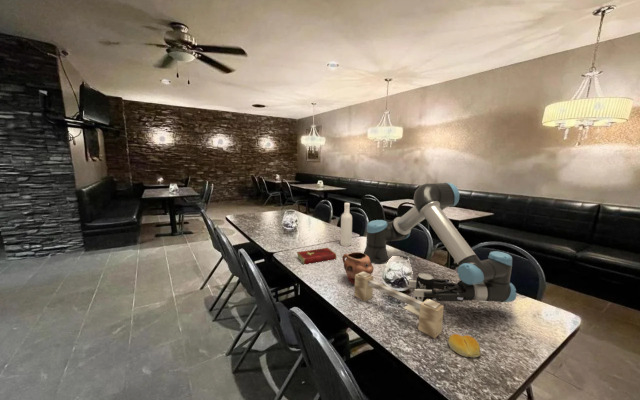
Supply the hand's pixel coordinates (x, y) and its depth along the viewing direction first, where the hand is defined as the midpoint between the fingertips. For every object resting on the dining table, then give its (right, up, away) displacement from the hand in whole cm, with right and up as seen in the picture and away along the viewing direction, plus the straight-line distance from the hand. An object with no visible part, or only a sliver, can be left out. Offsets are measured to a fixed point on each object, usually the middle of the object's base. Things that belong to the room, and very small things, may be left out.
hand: (411, 288), depth 103 cm
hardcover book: (-39, -1, +53) cm, 66 cm away
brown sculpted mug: (-19, -5, +25) cm, 32 cm away
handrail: (-8, -9, -1) cm, 12 cm away
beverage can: (+5, -7, +1) cm, 8 cm away
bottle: (-18, +4, +80) cm, 82 cm away
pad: (+5, -9, +1) cm, 10 cm away
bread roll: (+10, -13, -20) cm, 26 cm away
